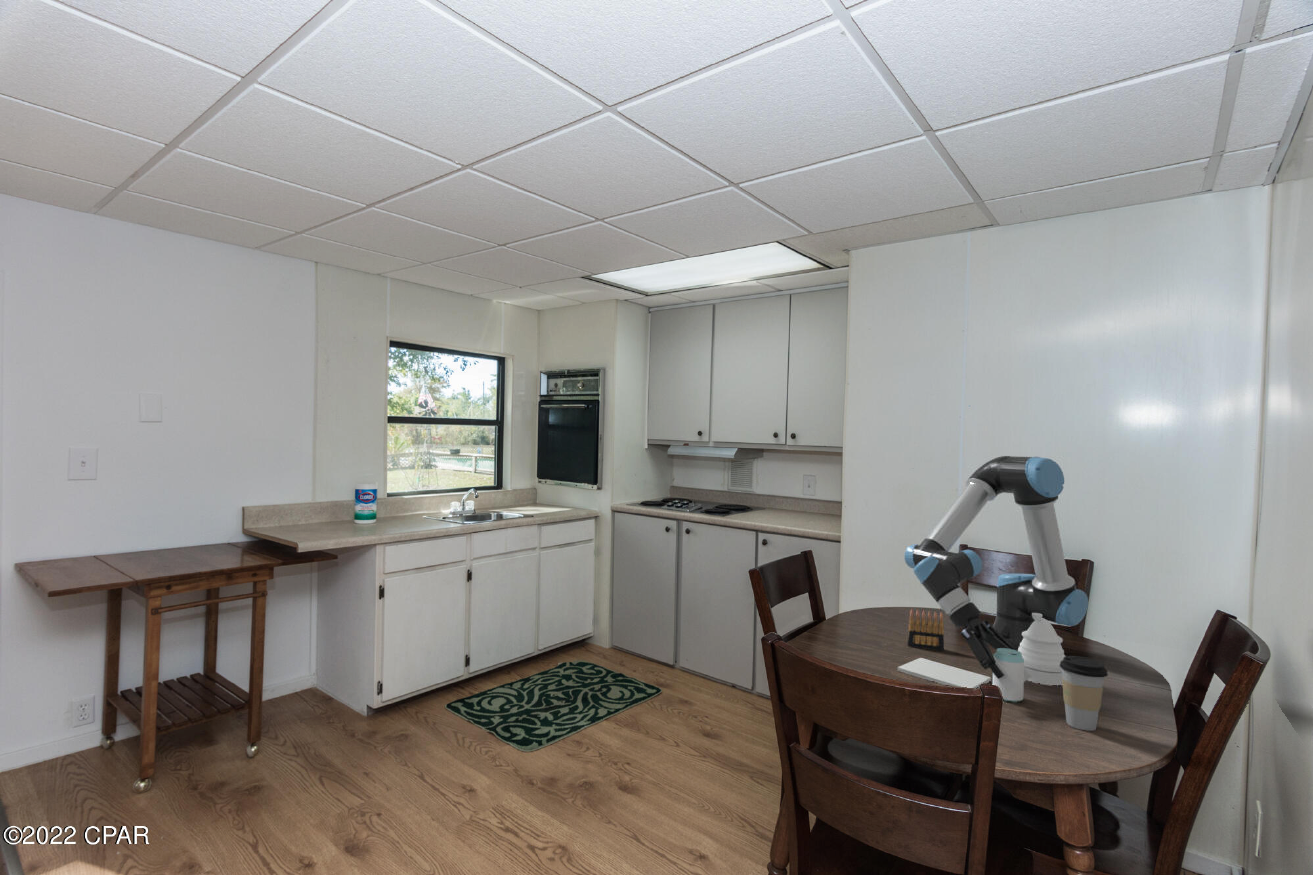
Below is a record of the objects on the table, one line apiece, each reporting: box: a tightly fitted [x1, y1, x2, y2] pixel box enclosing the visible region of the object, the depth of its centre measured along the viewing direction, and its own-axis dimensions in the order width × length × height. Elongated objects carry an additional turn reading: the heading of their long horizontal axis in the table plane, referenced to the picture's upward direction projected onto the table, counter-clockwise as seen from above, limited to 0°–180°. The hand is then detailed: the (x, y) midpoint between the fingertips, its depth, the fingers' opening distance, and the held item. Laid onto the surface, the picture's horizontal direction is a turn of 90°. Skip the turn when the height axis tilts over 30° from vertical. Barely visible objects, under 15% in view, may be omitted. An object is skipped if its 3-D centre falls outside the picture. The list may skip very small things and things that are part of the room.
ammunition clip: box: [906, 608, 945, 652], centre depth 205 cm, size 11×2×12 cm, turn 73°
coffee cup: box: [1059, 655, 1109, 732], centre depth 150 cm, size 9×9×15 cm
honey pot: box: [1017, 613, 1066, 687], centre depth 182 cm, size 13×13×18 cm
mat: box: [897, 657, 992, 690], centre depth 180 cm, size 20×14×1 cm
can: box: [991, 648, 1025, 703], centre depth 165 cm, size 7×7×12 cm
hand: (1020, 683), depth 163 cm, fingers open, 10 cm apart
